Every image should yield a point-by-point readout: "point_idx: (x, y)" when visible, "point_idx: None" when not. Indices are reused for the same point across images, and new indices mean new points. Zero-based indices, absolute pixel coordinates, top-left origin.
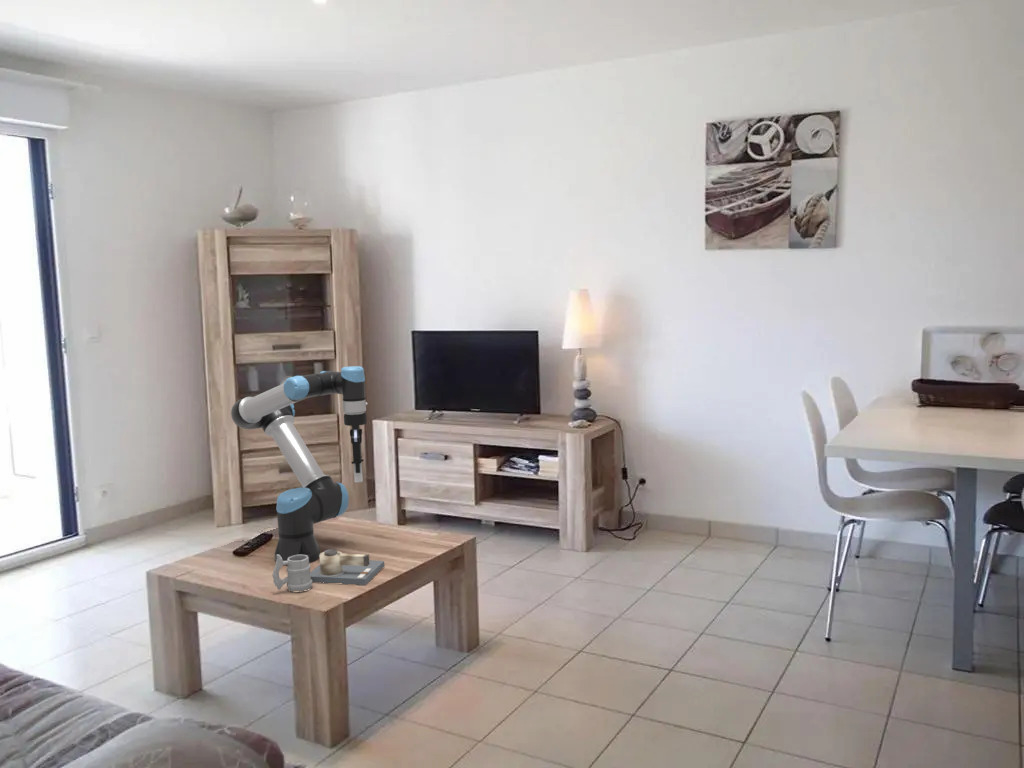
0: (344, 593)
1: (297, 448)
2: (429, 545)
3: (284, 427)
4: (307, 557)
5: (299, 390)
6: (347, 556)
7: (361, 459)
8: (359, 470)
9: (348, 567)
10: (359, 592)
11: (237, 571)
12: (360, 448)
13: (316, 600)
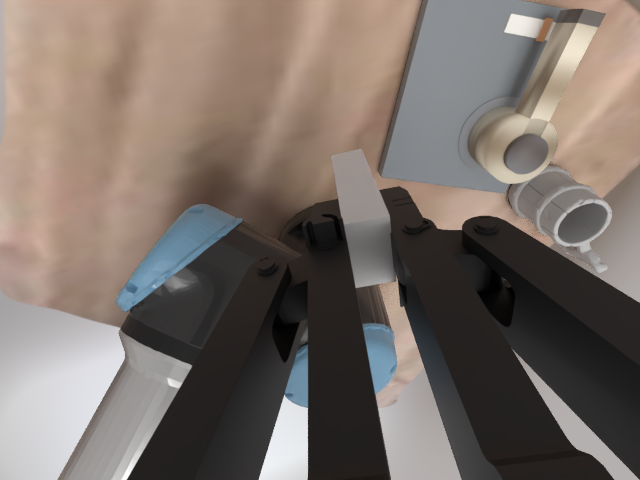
0: (617, 66)
1: None
2: None
3: None
4: (593, 201)
5: None
6: (561, 92)
7: (332, 242)
8: (410, 198)
9: (468, 98)
10: (630, 20)
11: (396, 321)
12: (365, 351)
13: (631, 129)
